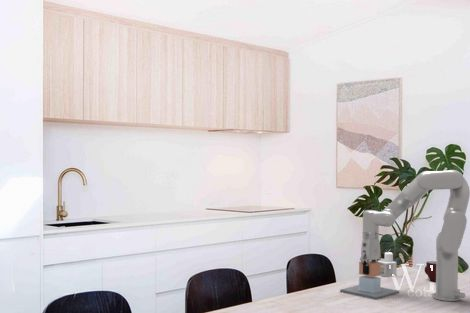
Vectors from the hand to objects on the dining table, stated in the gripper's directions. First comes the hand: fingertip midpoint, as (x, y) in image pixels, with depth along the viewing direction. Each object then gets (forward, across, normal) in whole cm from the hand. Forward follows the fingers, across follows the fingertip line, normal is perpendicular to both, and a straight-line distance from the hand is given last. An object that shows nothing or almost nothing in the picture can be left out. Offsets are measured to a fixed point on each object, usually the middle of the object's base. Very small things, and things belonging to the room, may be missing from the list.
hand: (369, 272), depth 284 cm
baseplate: (+10, 0, 0) cm, 10 cm away
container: (+10, +44, +18) cm, 48 cm away
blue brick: (+8, 0, 0) cm, 8 cm away
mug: (+10, +50, -6) cm, 51 cm away
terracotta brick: (+1, 0, 0) cm, 1 cm away
